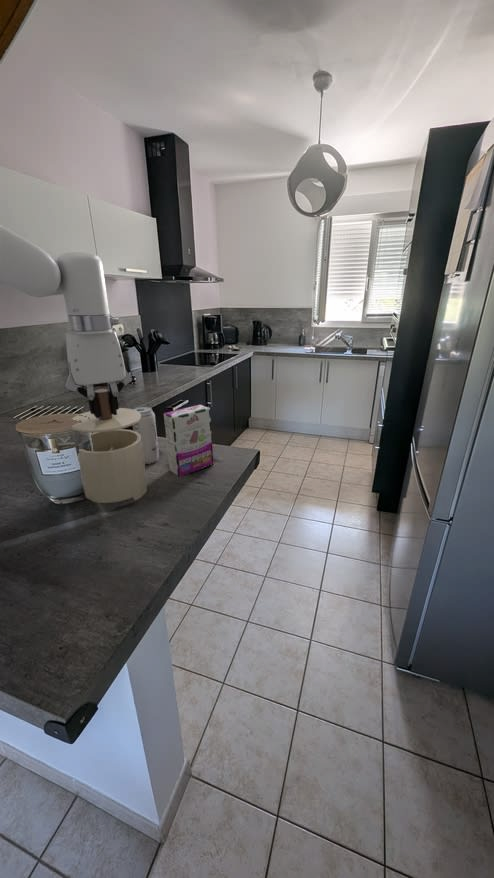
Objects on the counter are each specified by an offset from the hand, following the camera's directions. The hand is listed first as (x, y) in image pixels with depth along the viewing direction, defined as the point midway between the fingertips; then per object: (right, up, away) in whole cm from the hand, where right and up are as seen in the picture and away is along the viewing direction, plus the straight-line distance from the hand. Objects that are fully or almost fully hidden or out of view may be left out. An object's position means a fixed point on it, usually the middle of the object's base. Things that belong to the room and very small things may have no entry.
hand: (105, 414), depth 76 cm
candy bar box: (+15, -13, +19) cm, 28 cm away
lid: (0, -1, +1) cm, 1 cm away
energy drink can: (+3, -12, +24) cm, 26 cm away
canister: (0, -18, +7) cm, 19 cm away
